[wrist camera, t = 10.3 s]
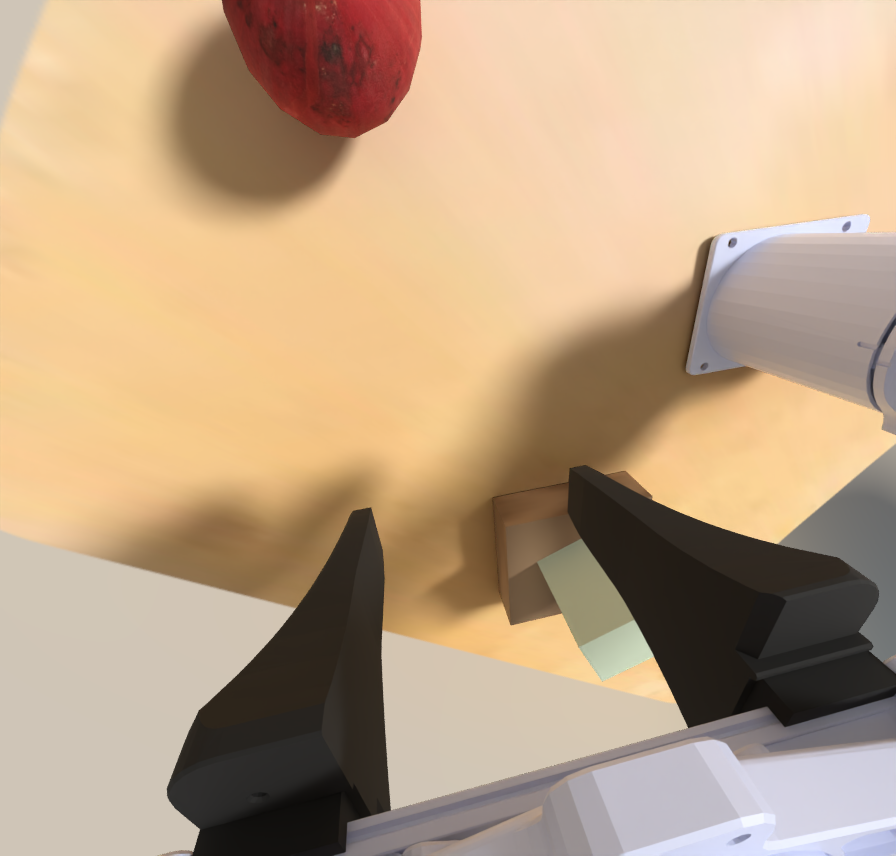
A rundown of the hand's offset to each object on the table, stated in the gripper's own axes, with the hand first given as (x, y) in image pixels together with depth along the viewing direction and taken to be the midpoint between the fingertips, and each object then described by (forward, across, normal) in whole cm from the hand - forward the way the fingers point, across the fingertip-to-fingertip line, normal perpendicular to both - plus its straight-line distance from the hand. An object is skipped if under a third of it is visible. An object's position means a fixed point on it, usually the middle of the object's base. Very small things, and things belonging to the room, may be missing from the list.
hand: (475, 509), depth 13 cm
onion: (+10, +2, -15) cm, 18 cm away
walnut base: (+10, -8, +13) cm, 18 cm away
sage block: (+7, -8, +13) cm, 17 cm away
